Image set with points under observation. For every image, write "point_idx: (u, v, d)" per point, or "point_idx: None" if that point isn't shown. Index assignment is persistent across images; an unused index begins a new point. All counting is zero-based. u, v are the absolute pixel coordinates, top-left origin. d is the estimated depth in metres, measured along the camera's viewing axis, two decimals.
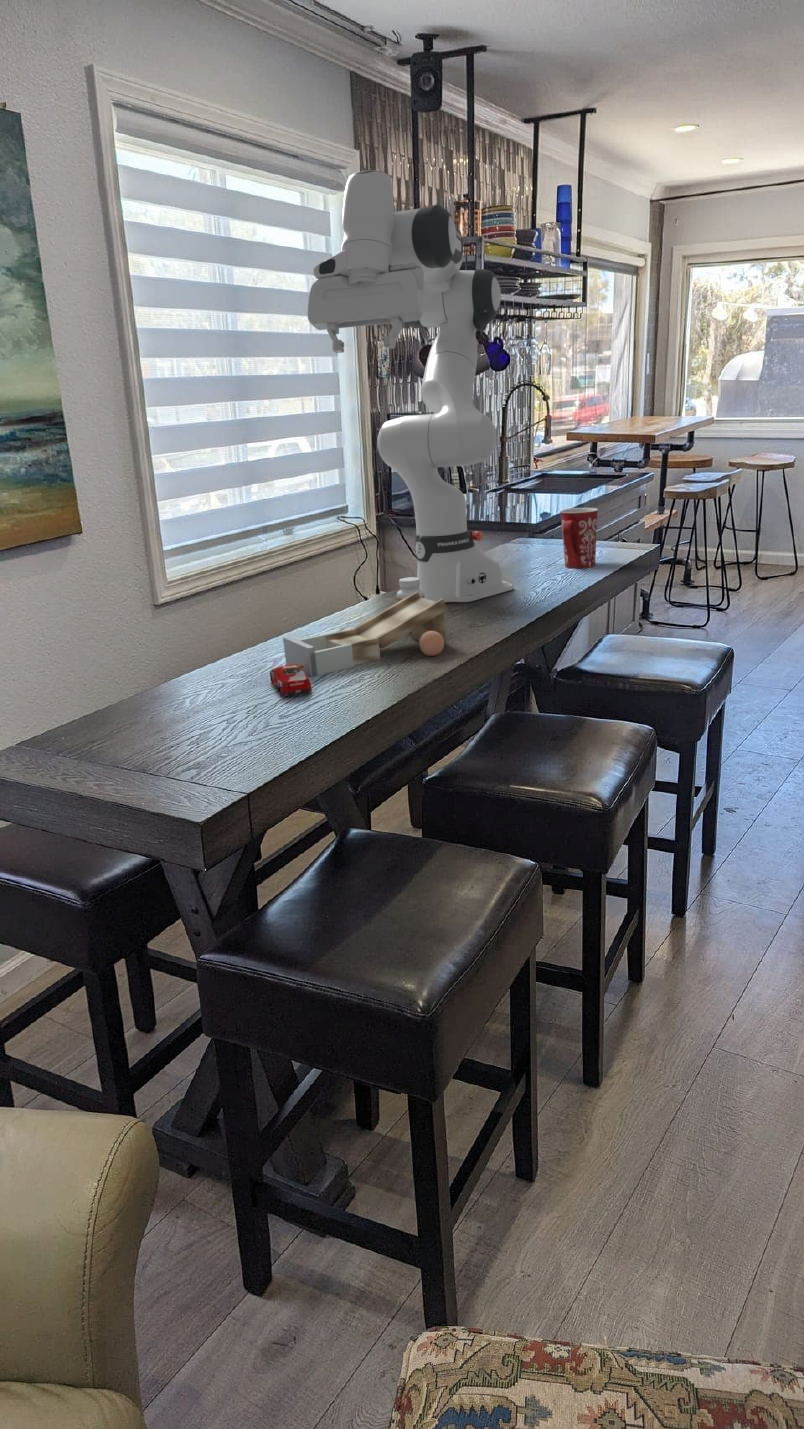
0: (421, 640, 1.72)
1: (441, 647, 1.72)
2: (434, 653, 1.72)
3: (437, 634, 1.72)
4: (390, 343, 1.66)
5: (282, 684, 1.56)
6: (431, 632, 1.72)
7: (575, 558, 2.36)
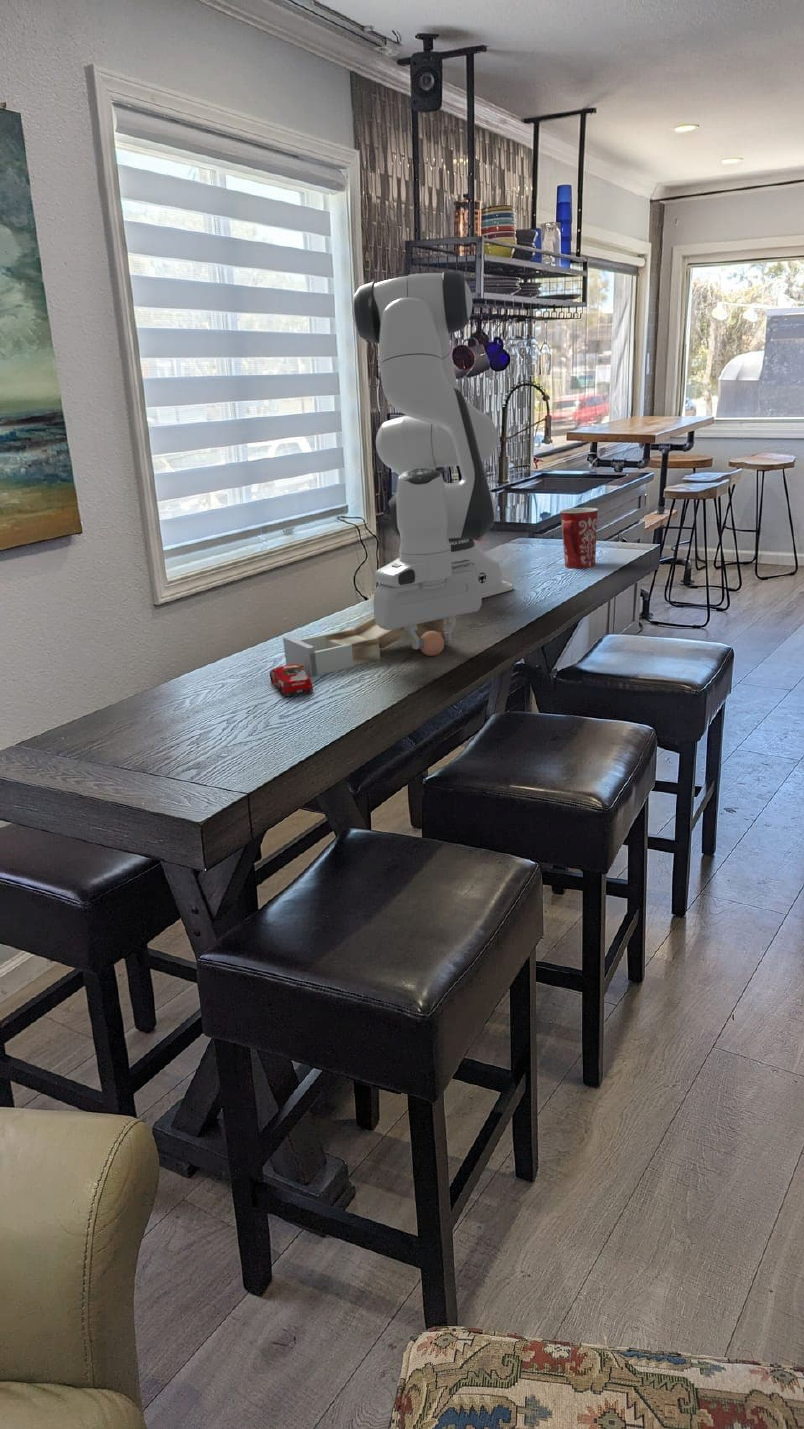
0: None
1: (441, 647, 1.72)
2: (434, 653, 1.72)
3: (437, 634, 1.72)
4: (450, 639, 1.74)
5: (283, 684, 1.56)
6: (431, 632, 1.72)
7: (575, 558, 2.36)
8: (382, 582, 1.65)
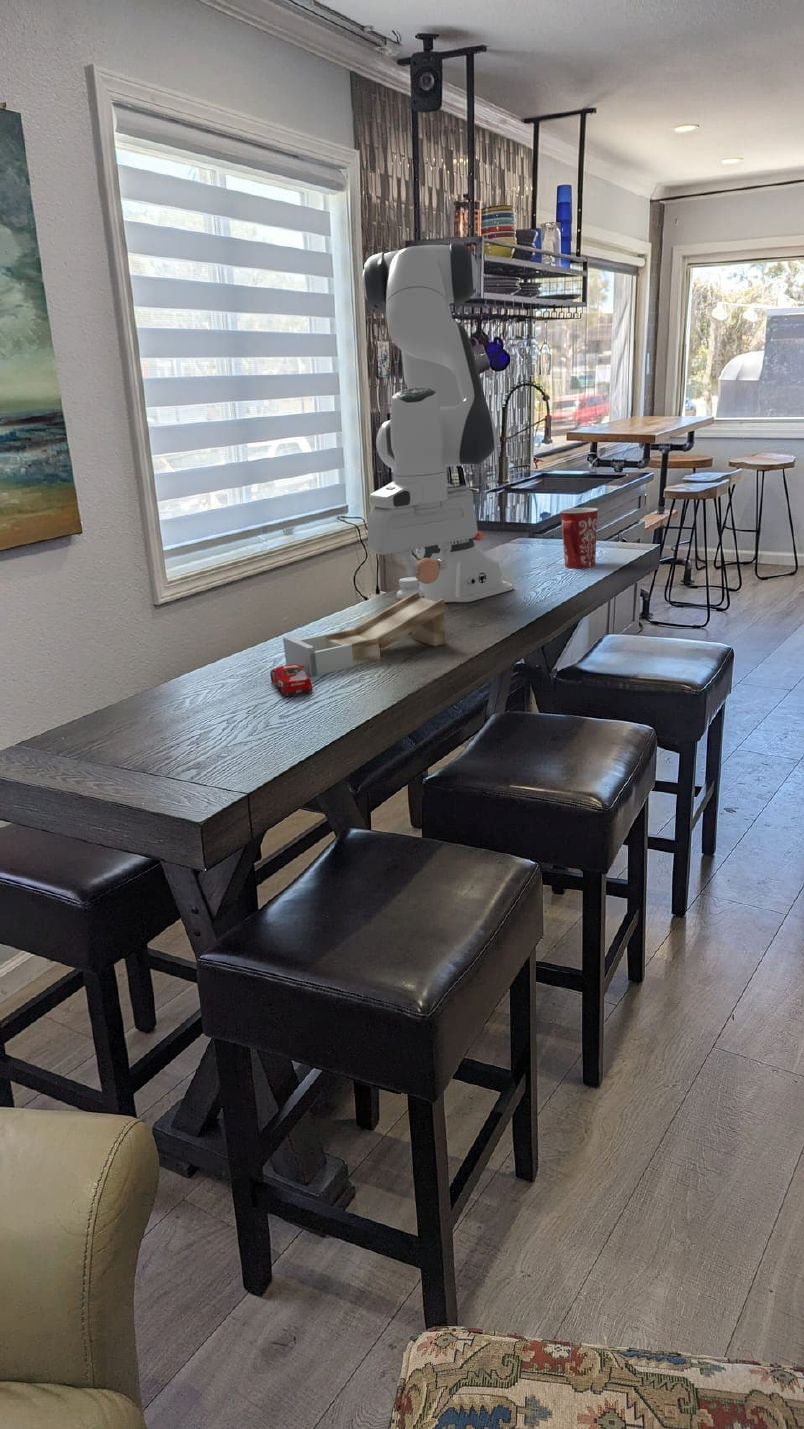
0: None
1: (437, 574, 1.68)
2: (429, 580, 1.68)
3: (432, 561, 1.68)
4: (445, 567, 1.70)
5: (283, 684, 1.56)
6: (426, 559, 1.68)
7: (575, 558, 2.36)
8: (376, 505, 1.61)
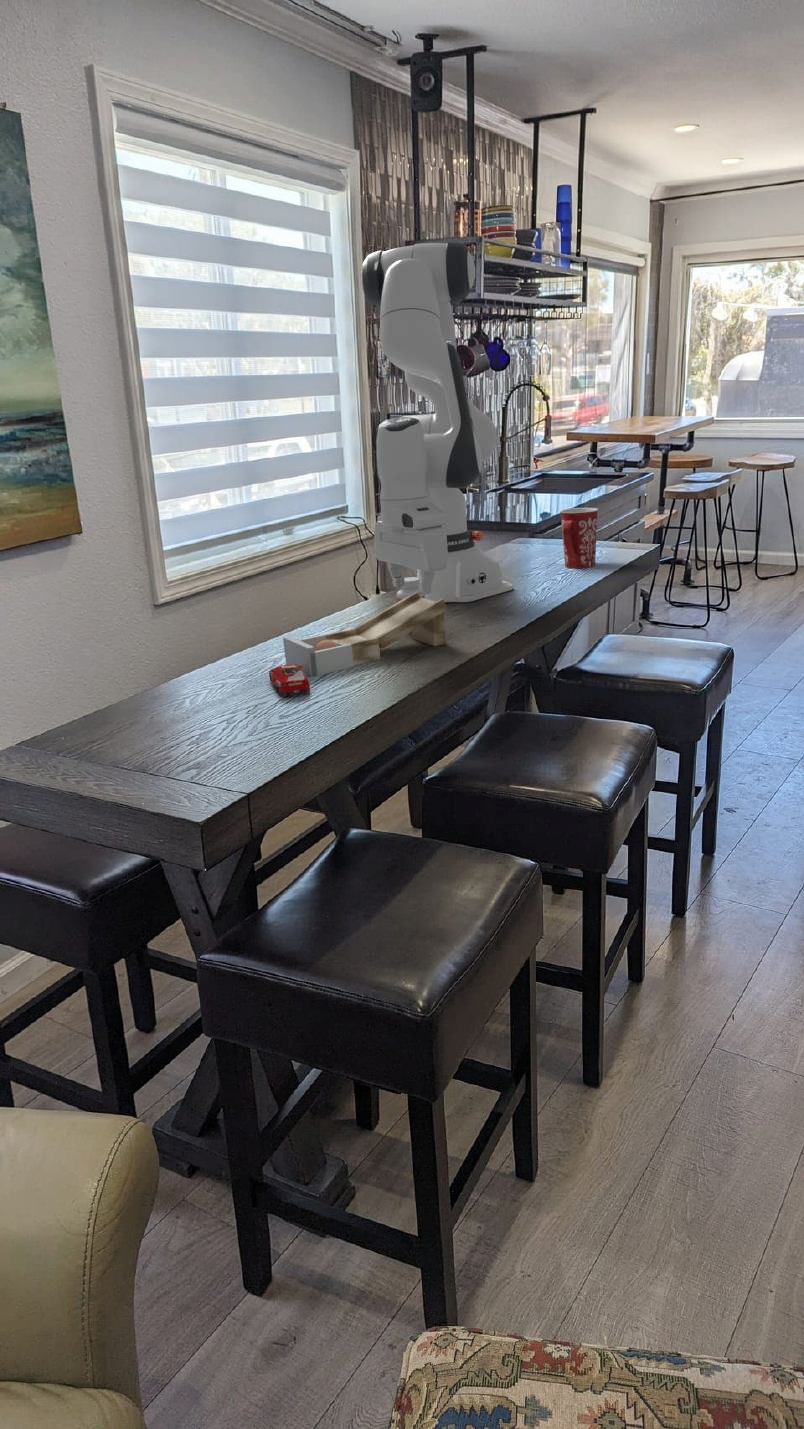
0: None
1: (317, 644, 1.72)
2: (325, 641, 1.72)
3: None
4: None
5: (280, 684, 1.56)
6: None
7: (575, 558, 2.36)
8: (432, 524, 1.68)
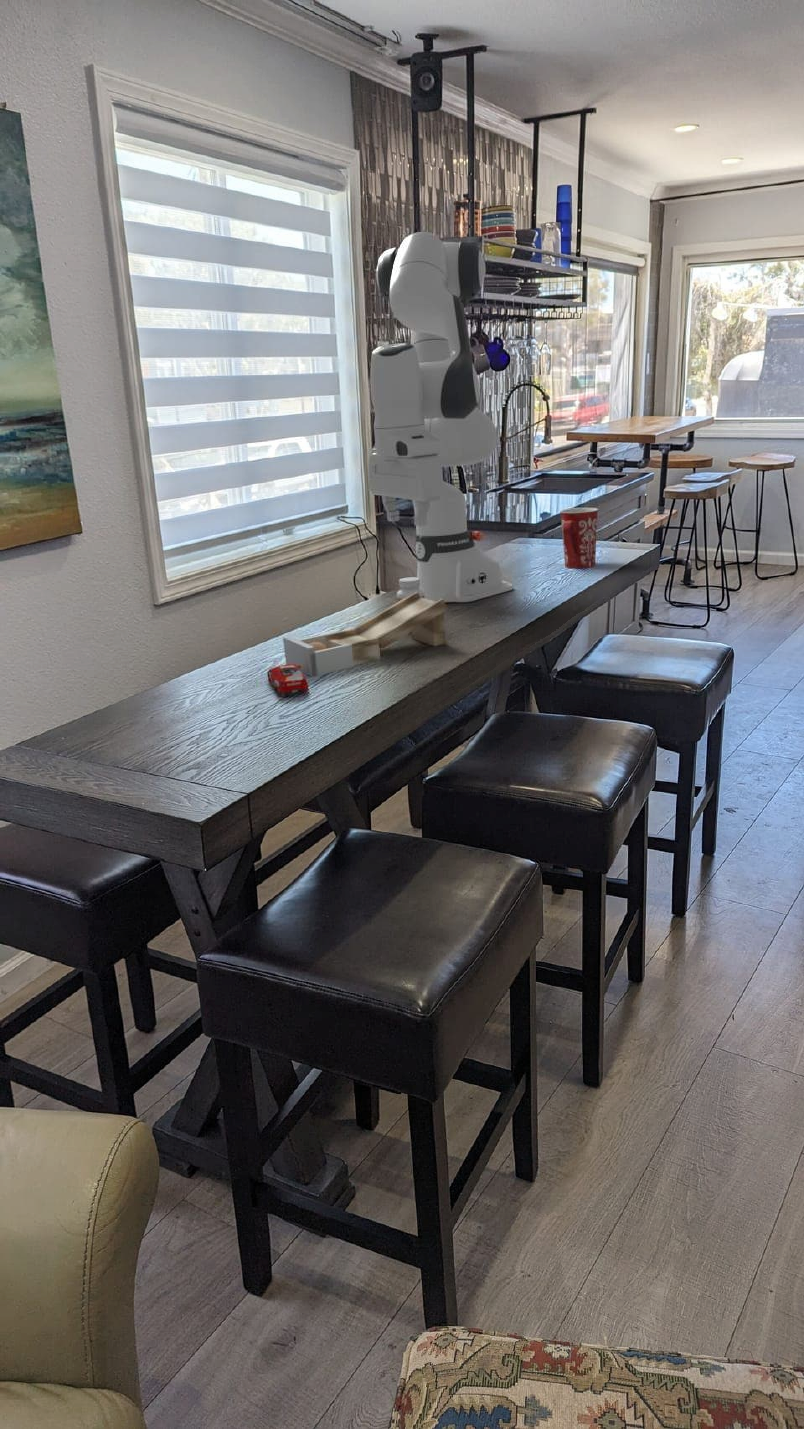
0: None
1: None
2: None
3: None
4: None
5: (279, 684, 1.57)
6: None
7: (575, 558, 2.36)
8: (427, 452, 1.64)
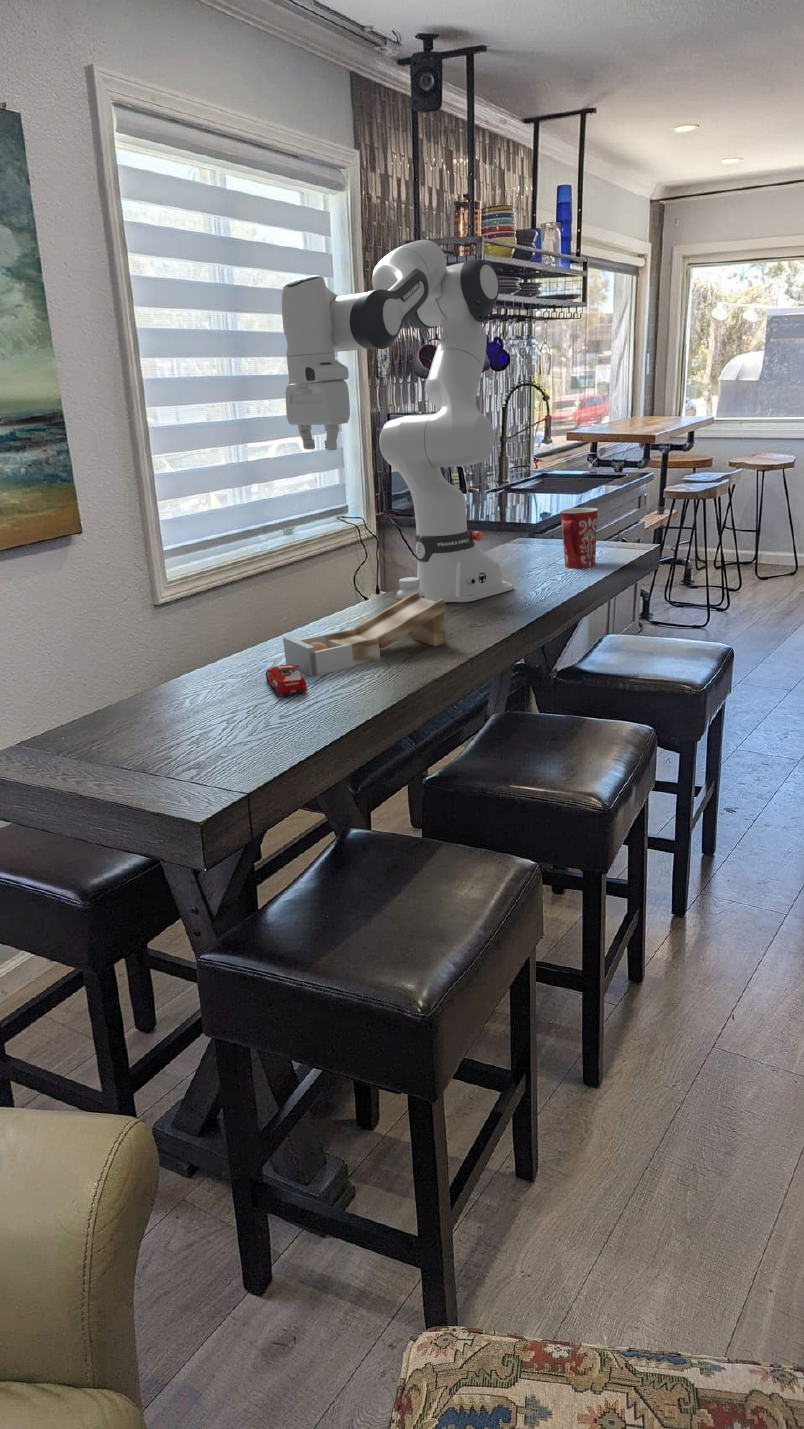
0: None
1: None
2: None
3: None
4: None
5: (277, 684, 1.57)
6: None
7: (575, 558, 2.36)
8: (333, 377, 1.73)
